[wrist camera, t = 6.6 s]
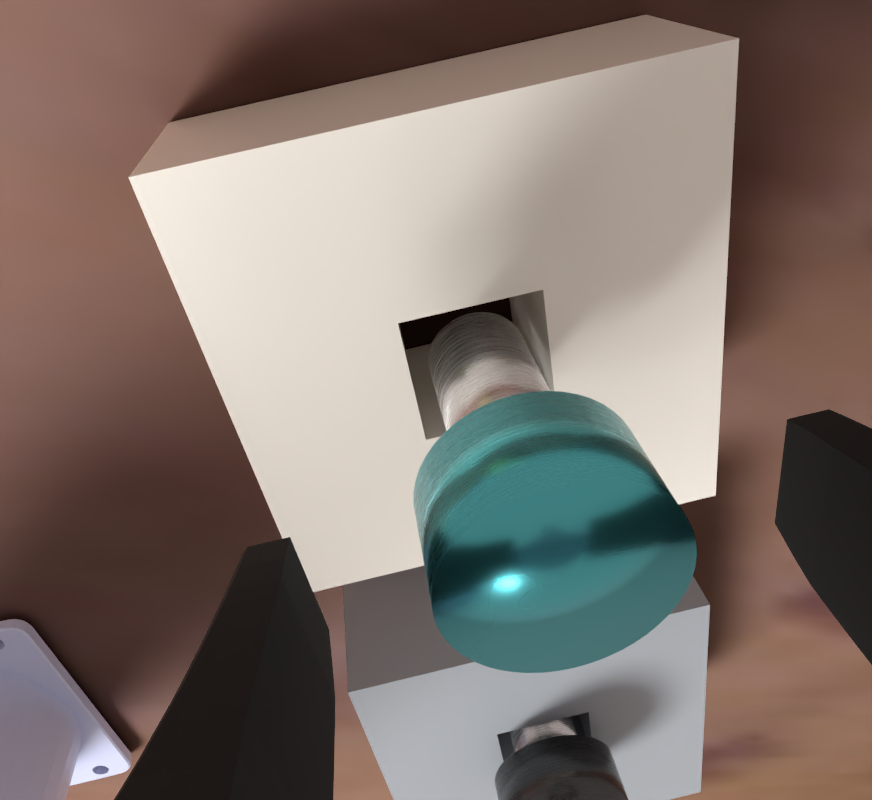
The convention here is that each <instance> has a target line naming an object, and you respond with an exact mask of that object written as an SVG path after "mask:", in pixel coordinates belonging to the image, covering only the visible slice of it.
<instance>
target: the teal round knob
mask: <svg viewBox="0 0 872 800" xmlns="http://www.w3.org/2000/svg"><path fill="white" fill-rule="evenodd" d="M428 364H429V369H430V373H431V377H432V381H433V384H434V388H435V392H436V395H437V399H438V403H439V407H440V410H441V414H442V418H443V421H444V425H445V429H446V432H445V433H444V434H443V435H442V436H441V437H440V438H439V439H438V440H437V441H436V442H435V444H434V445H433V446H432V448H431V449H430V451H429V452H428V453H427V455H426V456H425V458H424V460H423V462H422V464H421V466H420V468H419V471H418V474H417V477H416V481H415V487H414V493H413V495H414V510H415V516H416V521H417V527H418V532H419V538H420V544H421V549H422V555H423V560H424V566H425V572H426V577H427V583H428V588H429V594H430V600H431V605H432V611H433V616H434V620H435V622H436V625H437V627H438V629H439V631H440V633H441V634H442V636H443V637H444V639H445V640H446V641H447V642H448V643H449V644H450V645H451V646H452V647H453V648H454V649H455V650H456V651H458V652H459V653H460V654H462V655H463V656H465V657H467V658H468V659H470V660H472V661H474V662H476V663H479V664H481V665H484V666H487V667H490V668H494V669H498V670H503V671H509V672H519V673H544V672H553V671H561V670H566V669H571V668H576V667H579V666H583V665H586V664H590V663H593V662H595V661H598V660H601V659H603V658H606V657H608V656H610V655H612V654H615V653H617V652H619V651H621V650H623V649H625V648H626V647H628V646H630V645H632V644H633V643H635V642H636V641H638V640H639V639H641V638H642V637H644V636H645V635H647V634H648V633H649V632H650V631H652V630H653V629H654V628H655V627H657V626H658V625H659V624H660V623H661V622H662V621H663V620H664V619H665V618H666V617H667V616H668V615H669V614H670V613H671V612H672V610H673V609H674V608H675V607H676V605H677V604H678V603H679V602H680V600H681V598H682V597H683V595H684V594H685V592H686V590H687V588H688V586H689V584H690V582H691V580H692V577H693V573H694V570H695V566H696V558H697V546H696V539H695V535H694V532H693V529H692V527H691V525H690V523H689V521H688V519H687V517H686V516H685V514H684V513H683V511H682V510H681V508H680V507H679V505H678V503H677V502H676V500H675V499H674V497H673V496H672V494H671V492H670V491H669V489H668V488H667V486H666V485H665V483H664V481H663V480H662V478H661V477H660V475H659V474H658V472H657V470H656V469H655V467H654V466H653V464H652V463H651V461H650V460H649V458H648V456H647V455H646V453H645V452H644V450H643V449H642V447H641V445H640V444H639V442H638V441H637V439H636V438H635V436H634V434H633V433H632V431H631V430H630V428H629V427H628V426H627V424H626V423H625V422H624V420H623V419H622V418H621V417H619V416H618V415H617V414H616V413H615V412H614V411H613V410H611V409H610V408H608V407H607V406H605V405H604V404H602V403H600V402H598V401H595V400H593V399H591V398H588V397H585V396H582V395H578V394H573V393H568V392H560V391H550V389H549V387H548V385H547V383H546V381H545V379H544V378H543V376H542V374H541V372H540V370H539V368H538V366H537V364H536V362H535V360H534V358H533V356H532V354H531V352H530V351H529V349H528V347H527V345H526V343H525V341H524V339H523V337H522V335H521V333H520V332H519V330H518V329H517V327H516V326H515V325H514V324H513V323H512V322H511V321H509V320H508V319H506V318H505V317H503V316H501V315H498V314H494V313H489V312H474V313H469V314H465V315H462V316H460V317H458V318H456V319H454V320H452V321H450V322H449V323H448V324H446V325H445V326H444V327H443V328H442V329H441V330H440V331H439V332H438V334H437V335H436V336H435V338H434V340H433V342H432V344H431V346H430V350H429V355H428Z"/></svg>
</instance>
